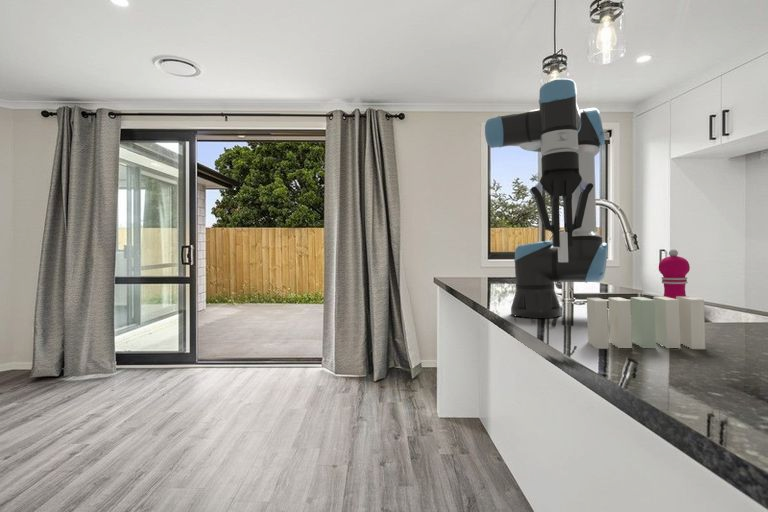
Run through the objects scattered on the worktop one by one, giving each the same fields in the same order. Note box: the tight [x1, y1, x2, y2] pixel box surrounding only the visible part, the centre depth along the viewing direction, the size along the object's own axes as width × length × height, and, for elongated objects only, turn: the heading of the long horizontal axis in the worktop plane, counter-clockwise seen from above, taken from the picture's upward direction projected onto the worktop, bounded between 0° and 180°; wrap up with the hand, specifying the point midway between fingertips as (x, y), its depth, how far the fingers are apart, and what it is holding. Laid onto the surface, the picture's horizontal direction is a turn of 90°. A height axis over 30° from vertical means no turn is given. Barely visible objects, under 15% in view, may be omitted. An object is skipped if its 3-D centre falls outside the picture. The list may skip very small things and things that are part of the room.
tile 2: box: [607, 296, 633, 349], centre depth 92 cm, size 6×2×10 cm, turn 169°
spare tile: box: [630, 296, 657, 349], centre depth 91 cm, size 6×2×10 cm, turn 169°
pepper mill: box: [658, 249, 691, 299], centre depth 100 cm, size 7×7×20 cm
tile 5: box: [676, 295, 706, 350], centre depth 89 cm, size 6×2×10 cm, turn 169°
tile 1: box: [586, 297, 610, 350], centre depth 92 cm, size 6×2×10 cm, turn 169°
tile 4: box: [652, 296, 681, 350], centre depth 90 cm, size 6×2×10 cm, turn 169°
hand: (563, 262), depth 94 cm, fingers closed
